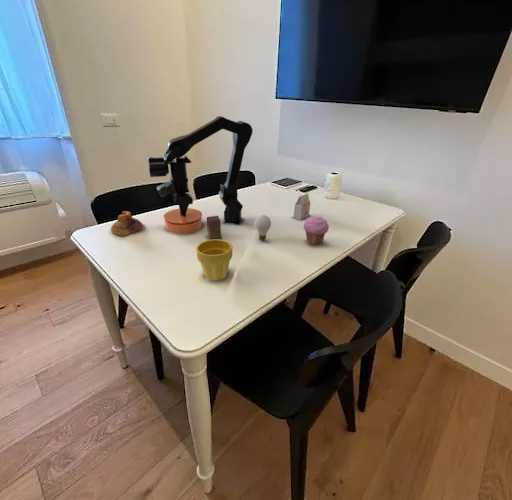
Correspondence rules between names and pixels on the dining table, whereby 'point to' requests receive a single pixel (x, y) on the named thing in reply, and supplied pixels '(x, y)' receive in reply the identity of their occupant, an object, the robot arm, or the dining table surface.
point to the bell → (126, 225)
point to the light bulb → (262, 226)
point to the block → (213, 227)
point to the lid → (177, 217)
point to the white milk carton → (302, 207)
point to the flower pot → (214, 258)
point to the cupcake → (315, 229)
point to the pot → (184, 227)
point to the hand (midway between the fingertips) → (183, 214)
